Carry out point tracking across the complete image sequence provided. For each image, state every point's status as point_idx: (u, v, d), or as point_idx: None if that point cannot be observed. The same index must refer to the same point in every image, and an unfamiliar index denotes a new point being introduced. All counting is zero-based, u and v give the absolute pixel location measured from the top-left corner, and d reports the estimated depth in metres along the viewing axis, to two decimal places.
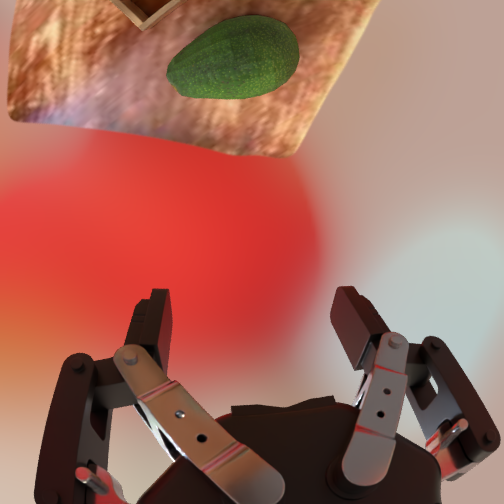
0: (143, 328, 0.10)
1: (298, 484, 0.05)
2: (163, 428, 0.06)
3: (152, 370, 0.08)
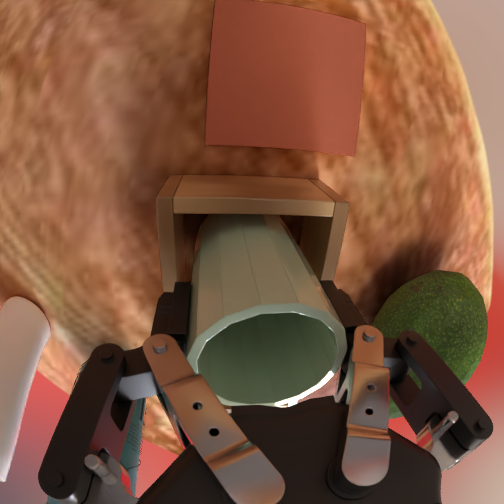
0: (170, 318, 0.10)
1: (298, 484, 0.05)
2: (178, 417, 0.06)
3: (183, 357, 0.09)
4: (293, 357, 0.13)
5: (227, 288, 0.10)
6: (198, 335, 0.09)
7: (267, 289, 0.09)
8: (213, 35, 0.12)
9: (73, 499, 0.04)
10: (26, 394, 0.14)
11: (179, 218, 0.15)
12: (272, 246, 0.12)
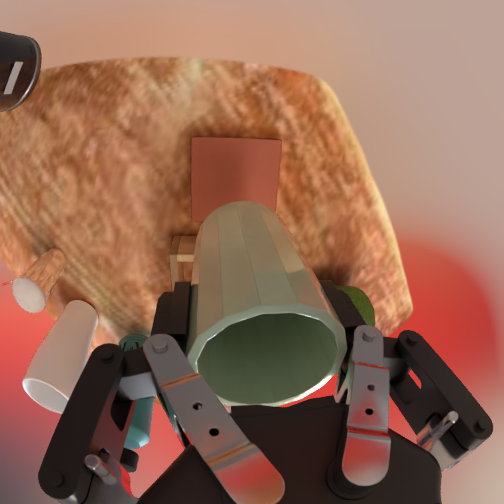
0: (170, 318, 0.10)
1: (298, 484, 0.05)
2: (178, 417, 0.06)
3: (183, 357, 0.09)
4: (293, 357, 0.13)
5: (227, 288, 0.10)
6: (198, 335, 0.09)
7: (267, 289, 0.09)
8: (192, 162, 0.28)
9: (73, 499, 0.04)
10: (87, 358, 0.29)
11: None
12: (272, 246, 0.12)
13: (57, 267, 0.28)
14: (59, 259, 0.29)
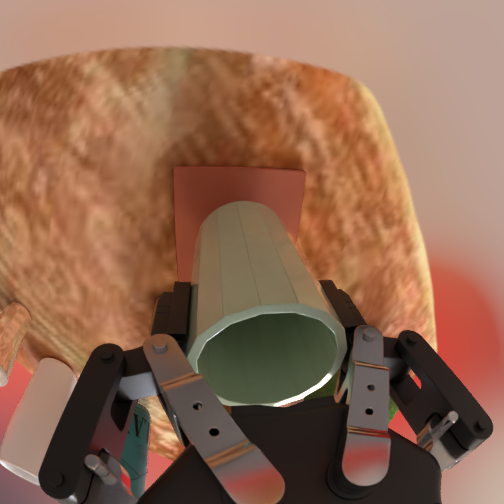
0: (170, 318, 0.10)
1: (298, 484, 0.05)
2: (178, 417, 0.06)
3: (183, 357, 0.09)
4: (293, 357, 0.13)
5: (227, 288, 0.10)
6: (198, 335, 0.09)
7: (267, 289, 0.09)
8: (175, 203, 0.19)
9: (73, 499, 0.04)
10: None
11: None
12: (272, 247, 0.12)
13: (19, 329, 0.20)
14: (21, 318, 0.21)
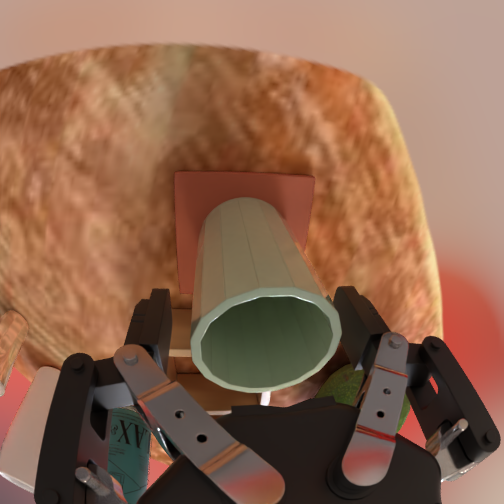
0: (143, 328, 0.10)
1: (298, 484, 0.05)
2: (163, 428, 0.06)
3: (152, 370, 0.08)
4: (291, 344, 0.14)
5: (229, 274, 0.11)
6: (202, 317, 0.10)
7: (266, 275, 0.10)
8: (176, 211, 0.18)
9: None
10: None
11: None
12: (271, 238, 0.13)
13: (16, 339, 0.19)
14: (18, 327, 0.20)
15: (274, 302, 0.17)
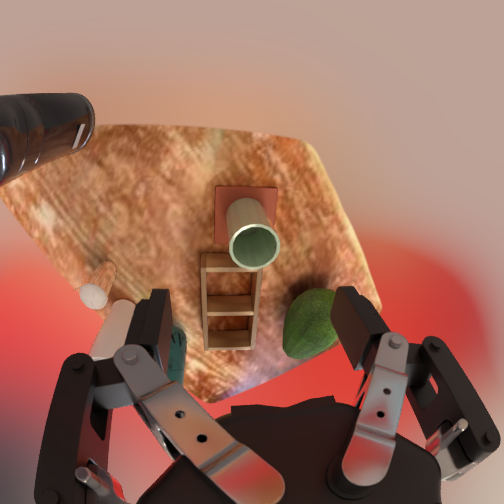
0: (143, 328, 0.10)
1: (298, 484, 0.05)
2: (163, 428, 0.06)
3: (152, 370, 0.08)
4: (265, 253, 0.37)
5: (242, 222, 0.34)
6: (234, 233, 0.33)
7: (253, 221, 0.34)
8: (215, 203, 0.42)
9: None
10: None
11: None
12: (256, 212, 0.36)
13: (112, 275, 0.42)
14: (112, 269, 0.43)
15: (259, 242, 0.41)
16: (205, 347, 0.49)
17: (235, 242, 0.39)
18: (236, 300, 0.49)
